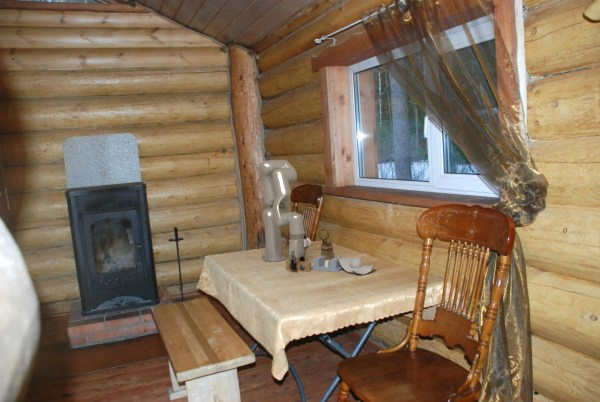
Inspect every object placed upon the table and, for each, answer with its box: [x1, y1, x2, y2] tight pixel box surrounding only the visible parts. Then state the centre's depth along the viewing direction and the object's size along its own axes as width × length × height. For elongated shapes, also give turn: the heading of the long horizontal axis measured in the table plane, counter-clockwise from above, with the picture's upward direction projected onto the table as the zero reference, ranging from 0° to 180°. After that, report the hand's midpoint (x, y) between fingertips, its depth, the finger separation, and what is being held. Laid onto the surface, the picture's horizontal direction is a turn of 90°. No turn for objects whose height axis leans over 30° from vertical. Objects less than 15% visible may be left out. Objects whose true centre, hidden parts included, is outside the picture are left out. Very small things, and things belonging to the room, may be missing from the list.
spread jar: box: [303, 230, 312, 249], centre depth 316 cm, size 12×11×12 cm
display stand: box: [311, 255, 344, 273], centre depth 259 cm, size 16×10×6 cm, turn 62°
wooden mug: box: [318, 228, 335, 261], centre depth 276 cm, size 9×14×18 cm, turn 11°
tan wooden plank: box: [285, 259, 313, 273], centre depth 259 cm, size 14×4×5 cm, turn 62°
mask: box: [338, 257, 376, 275], centre depth 252 cm, size 20×8×15 cm
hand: (298, 267), depth 259 cm, fingers open, 9 cm apart
